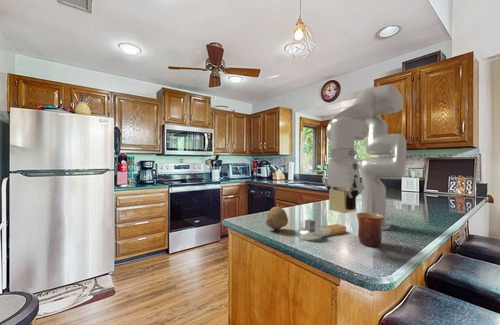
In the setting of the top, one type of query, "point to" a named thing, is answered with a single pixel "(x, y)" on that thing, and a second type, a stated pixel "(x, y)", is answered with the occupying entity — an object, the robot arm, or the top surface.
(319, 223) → the top surface
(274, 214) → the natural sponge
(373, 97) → the robot arm
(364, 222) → the mug
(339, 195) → the beige wooden block
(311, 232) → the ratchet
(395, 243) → the top surface
